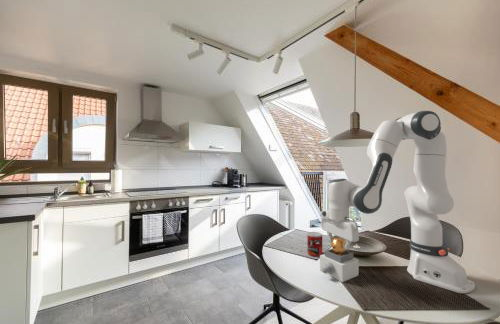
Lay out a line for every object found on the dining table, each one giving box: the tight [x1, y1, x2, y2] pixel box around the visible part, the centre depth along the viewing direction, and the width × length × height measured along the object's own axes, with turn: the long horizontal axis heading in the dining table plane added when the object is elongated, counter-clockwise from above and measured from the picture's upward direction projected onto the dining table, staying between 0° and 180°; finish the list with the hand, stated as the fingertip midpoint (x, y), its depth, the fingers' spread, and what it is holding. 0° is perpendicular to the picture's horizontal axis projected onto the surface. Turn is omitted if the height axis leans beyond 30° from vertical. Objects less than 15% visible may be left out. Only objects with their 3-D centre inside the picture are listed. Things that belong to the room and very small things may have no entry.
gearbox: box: [319, 247, 360, 283], centre depth 103 cm, size 12×15×10 cm
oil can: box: [329, 237, 346, 256], centre depth 103 cm, size 8×5×8 cm
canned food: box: [306, 231, 323, 257], centre depth 126 cm, size 8×8×11 cm
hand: (338, 245), depth 104 cm, fingers open, 8 cm apart
